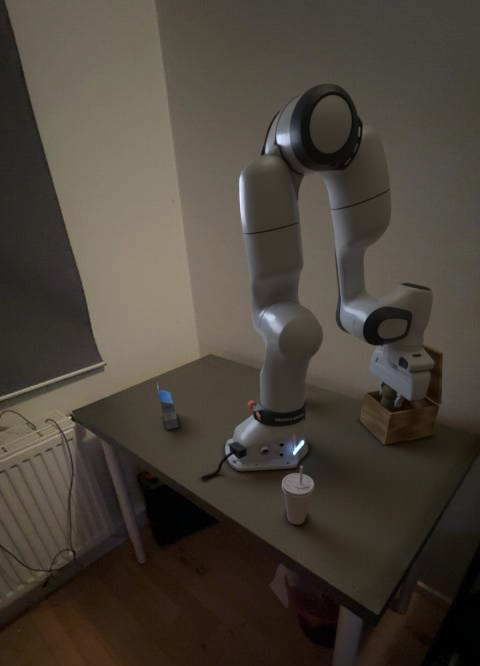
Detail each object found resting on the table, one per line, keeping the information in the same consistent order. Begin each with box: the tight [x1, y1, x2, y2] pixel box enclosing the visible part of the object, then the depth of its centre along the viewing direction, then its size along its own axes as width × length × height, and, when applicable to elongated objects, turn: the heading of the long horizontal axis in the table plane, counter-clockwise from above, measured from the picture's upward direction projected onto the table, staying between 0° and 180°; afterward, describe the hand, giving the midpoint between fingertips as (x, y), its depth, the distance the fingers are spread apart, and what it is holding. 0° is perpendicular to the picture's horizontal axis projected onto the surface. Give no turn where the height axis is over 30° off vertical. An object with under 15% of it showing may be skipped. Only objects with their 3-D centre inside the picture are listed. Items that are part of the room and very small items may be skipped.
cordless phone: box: [156, 382, 179, 431], centre depth 107 cm, size 9×4×12 cm, turn 16°
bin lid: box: [422, 343, 444, 406], centre depth 92 cm, size 15×13×1 cm
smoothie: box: [281, 465, 315, 525], centre depth 70 cm, size 6×6×14 cm
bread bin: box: [359, 389, 441, 446], centre depth 98 cm, size 14×13×10 cm
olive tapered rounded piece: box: [380, 384, 398, 413], centre depth 96 cm, size 6×6×11 cm
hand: (390, 400), depth 95 cm, fingers closed on olive tapered rounded piece, 5 cm apart
